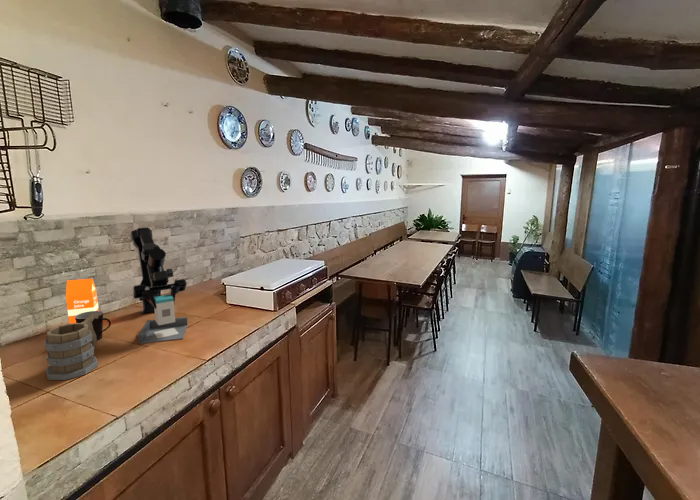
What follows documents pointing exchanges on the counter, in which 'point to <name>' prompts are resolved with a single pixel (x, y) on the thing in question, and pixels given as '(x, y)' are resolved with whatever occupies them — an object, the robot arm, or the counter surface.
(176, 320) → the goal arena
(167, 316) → the white teal-lidded canister
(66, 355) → the tankard
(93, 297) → the orange juice
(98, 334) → the coffee mug
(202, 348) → the counter surface
